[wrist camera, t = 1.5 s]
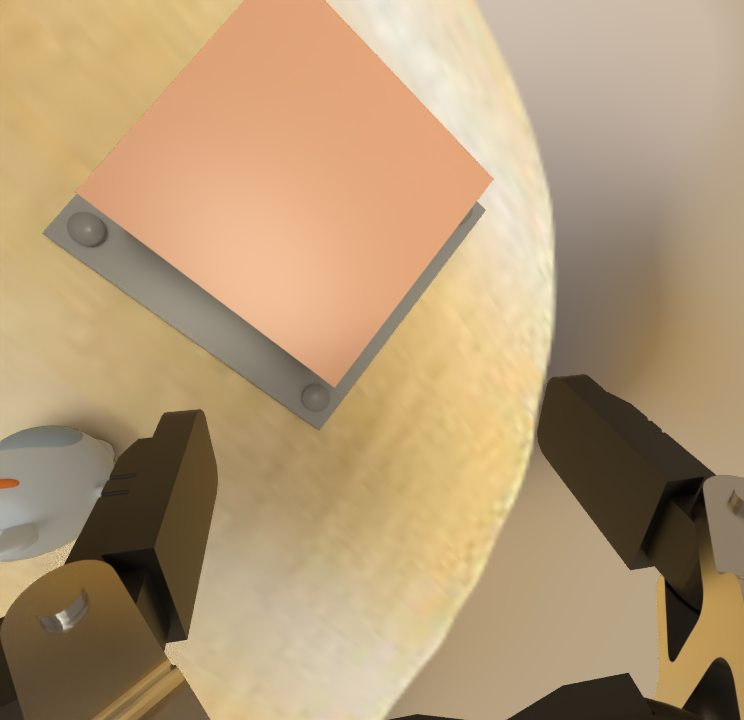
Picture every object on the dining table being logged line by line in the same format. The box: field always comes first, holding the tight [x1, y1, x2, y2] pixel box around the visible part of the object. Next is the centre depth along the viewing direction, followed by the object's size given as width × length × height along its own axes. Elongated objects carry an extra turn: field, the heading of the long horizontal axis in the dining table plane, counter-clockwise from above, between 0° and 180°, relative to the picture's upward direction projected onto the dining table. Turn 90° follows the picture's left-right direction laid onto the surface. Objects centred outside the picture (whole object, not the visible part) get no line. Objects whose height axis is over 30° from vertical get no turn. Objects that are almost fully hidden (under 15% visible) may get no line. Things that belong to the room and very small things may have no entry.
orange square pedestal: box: [42, 0, 493, 430], centre depth 25 cm, size 20×20×9 cm
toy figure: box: [0, 426, 114, 562], centre depth 22 cm, size 11×6×12 cm, turn 91°
